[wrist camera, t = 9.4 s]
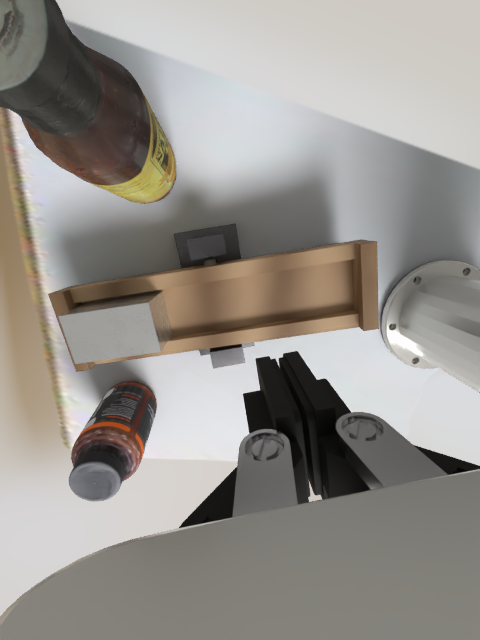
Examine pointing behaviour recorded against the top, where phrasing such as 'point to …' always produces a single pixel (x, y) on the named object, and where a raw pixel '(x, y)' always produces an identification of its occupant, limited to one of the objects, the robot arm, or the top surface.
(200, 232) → the fulcrum
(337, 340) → the top surface
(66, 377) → the top surface
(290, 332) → the beam
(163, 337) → the rider
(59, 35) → the sauce bottle
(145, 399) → the supplement bottle
